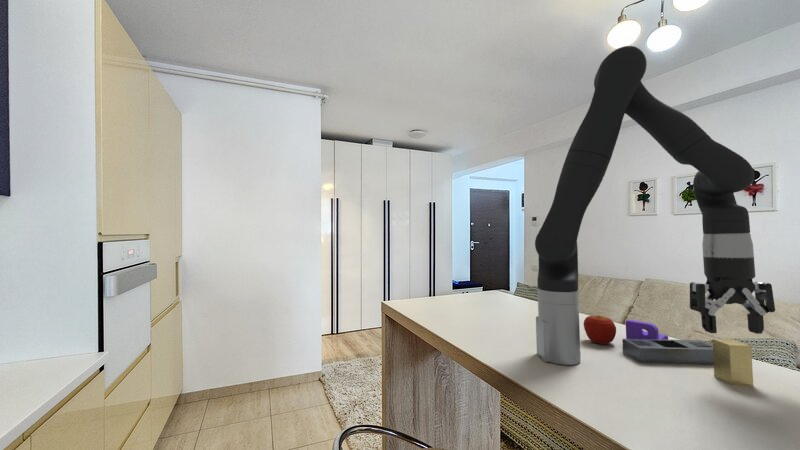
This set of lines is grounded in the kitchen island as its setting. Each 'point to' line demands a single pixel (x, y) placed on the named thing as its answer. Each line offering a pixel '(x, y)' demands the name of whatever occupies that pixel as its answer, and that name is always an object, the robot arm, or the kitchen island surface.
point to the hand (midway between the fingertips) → (732, 332)
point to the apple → (600, 329)
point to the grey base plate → (669, 351)
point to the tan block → (733, 361)
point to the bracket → (636, 330)
